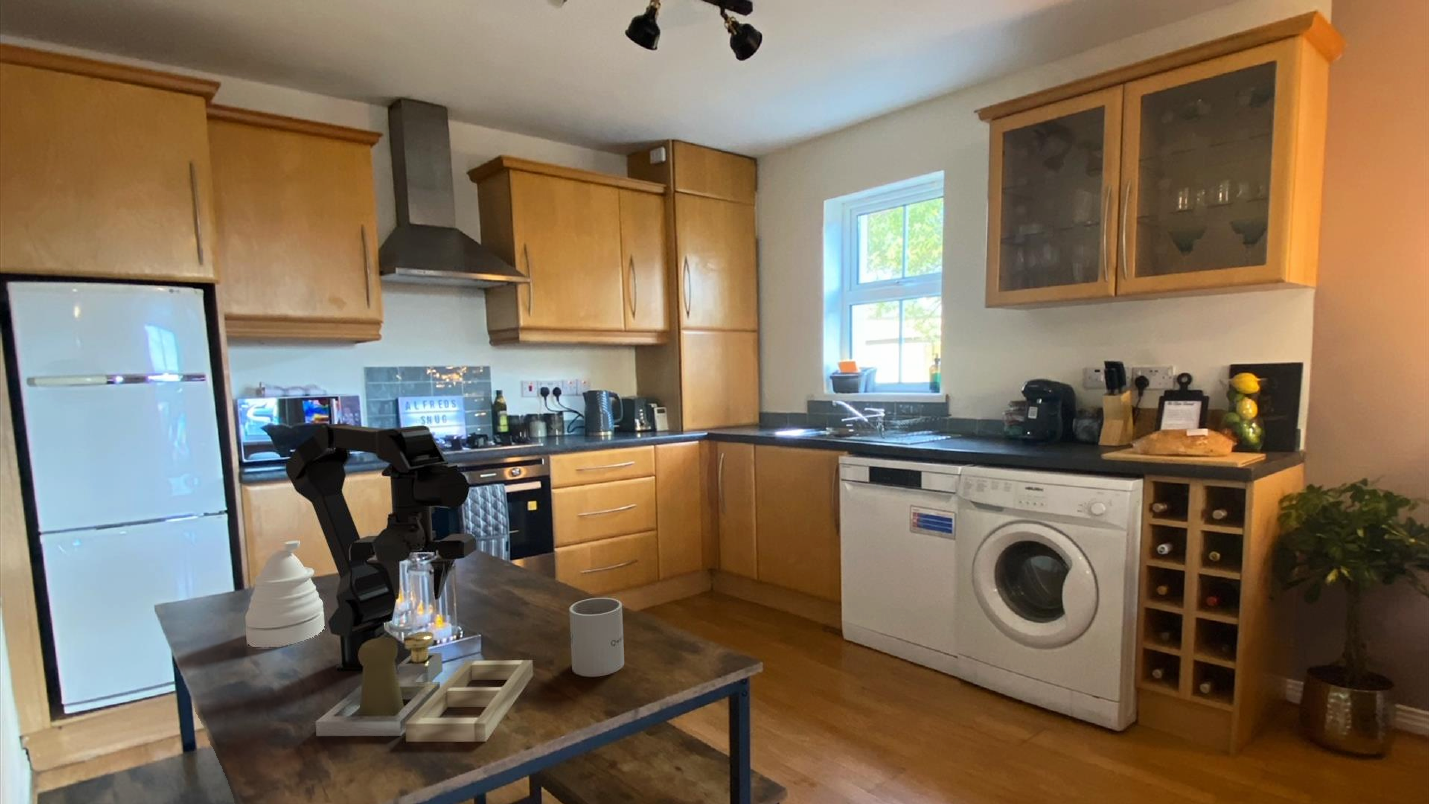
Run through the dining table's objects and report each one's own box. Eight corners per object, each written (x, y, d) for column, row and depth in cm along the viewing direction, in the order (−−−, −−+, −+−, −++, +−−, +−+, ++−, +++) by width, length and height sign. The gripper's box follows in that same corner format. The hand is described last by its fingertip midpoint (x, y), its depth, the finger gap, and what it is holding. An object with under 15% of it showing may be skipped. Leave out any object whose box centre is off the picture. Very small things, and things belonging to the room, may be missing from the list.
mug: (606, 679, 111) (604, 618, 110) (561, 672, 114) (559, 612, 114) (643, 649, 122) (641, 593, 122) (601, 643, 125) (599, 589, 125)
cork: (386, 726, 98) (382, 650, 98) (349, 723, 99) (344, 647, 99) (413, 705, 104) (409, 633, 104) (377, 703, 105) (373, 631, 105)
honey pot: (330, 619, 143) (325, 532, 142) (316, 642, 131) (310, 547, 130) (258, 628, 139) (252, 539, 138) (237, 653, 127) (230, 555, 126)
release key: (400, 680, 112) (398, 642, 111) (414, 668, 116) (412, 631, 116) (427, 680, 111) (425, 642, 111) (439, 668, 116) (437, 631, 116)
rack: (406, 741, 94) (405, 723, 94) (467, 675, 114) (466, 660, 114) (485, 741, 93) (485, 723, 93) (533, 675, 113) (532, 660, 113)
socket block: (316, 735, 96) (315, 714, 96) (393, 671, 117) (392, 653, 116) (400, 735, 96) (399, 714, 95) (463, 670, 116) (462, 652, 116)
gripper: (324, 516, 105) (331, 618, 106) (445, 513, 104) (451, 616, 105) (365, 501, 116) (371, 593, 117) (475, 499, 115) (480, 592, 116)
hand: (416, 599), depth 113 cm, fingers open, 7 cm apart
